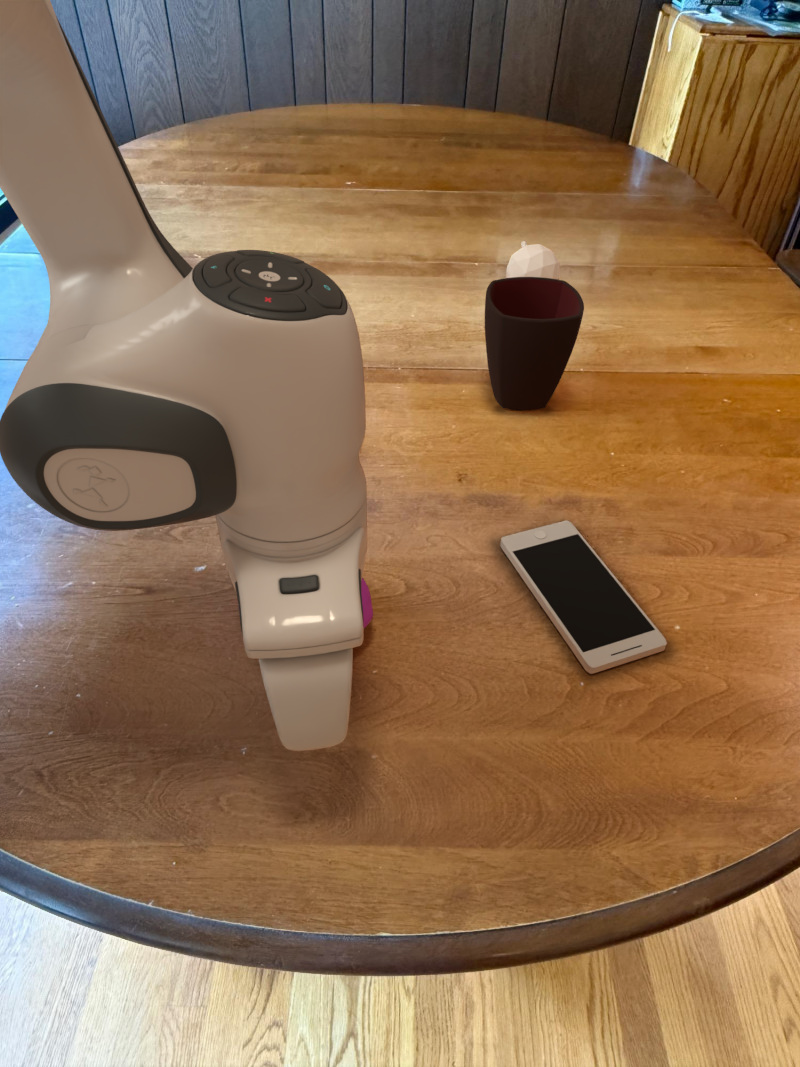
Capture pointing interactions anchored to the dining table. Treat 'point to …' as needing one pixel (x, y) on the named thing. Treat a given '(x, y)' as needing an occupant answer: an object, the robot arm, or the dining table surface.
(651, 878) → the dining table surface
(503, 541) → the smartphone
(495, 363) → the cup
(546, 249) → the ornament
